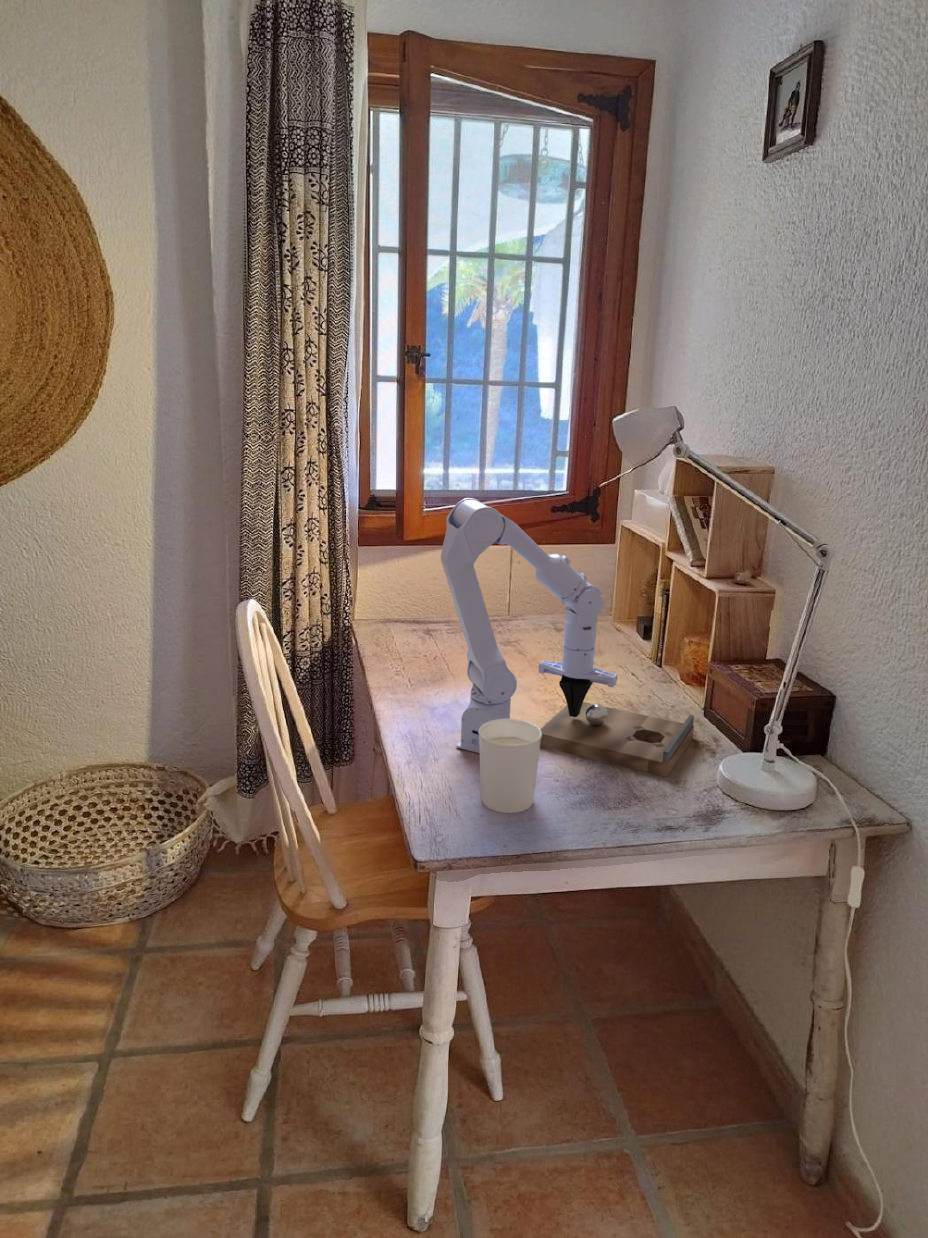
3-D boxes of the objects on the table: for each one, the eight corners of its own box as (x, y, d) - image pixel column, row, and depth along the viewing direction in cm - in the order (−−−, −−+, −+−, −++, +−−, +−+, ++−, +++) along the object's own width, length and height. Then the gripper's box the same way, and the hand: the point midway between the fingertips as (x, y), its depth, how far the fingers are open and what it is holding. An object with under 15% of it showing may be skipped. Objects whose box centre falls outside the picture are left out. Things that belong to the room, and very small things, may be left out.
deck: (535, 745, 161) (537, 722, 160) (571, 711, 176) (573, 690, 175) (666, 777, 150) (669, 752, 149) (692, 738, 166) (695, 715, 164)
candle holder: (550, 800, 142) (554, 731, 138) (511, 823, 135) (515, 751, 131) (502, 780, 148) (505, 713, 144) (463, 800, 141) (465, 731, 137)
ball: (602, 730, 162) (604, 710, 161) (581, 726, 164) (583, 705, 162) (609, 723, 165) (611, 703, 164) (589, 718, 167) (590, 698, 166)
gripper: (624, 646, 162) (618, 715, 166) (550, 633, 168) (546, 700, 172) (612, 658, 156) (606, 729, 160) (535, 643, 162) (532, 712, 166)
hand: (574, 715), depth 166 cm, fingers closed
